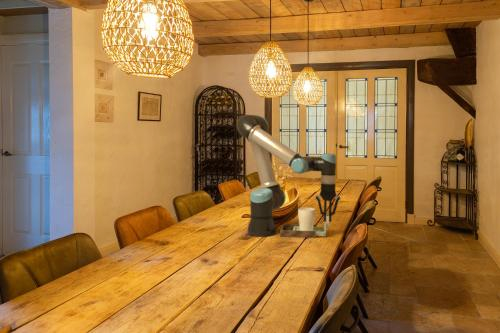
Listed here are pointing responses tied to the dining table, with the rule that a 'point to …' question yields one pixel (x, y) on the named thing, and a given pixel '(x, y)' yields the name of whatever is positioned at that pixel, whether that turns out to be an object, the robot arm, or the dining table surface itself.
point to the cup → (306, 218)
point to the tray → (319, 230)
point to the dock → (295, 231)
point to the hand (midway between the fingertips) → (327, 227)
